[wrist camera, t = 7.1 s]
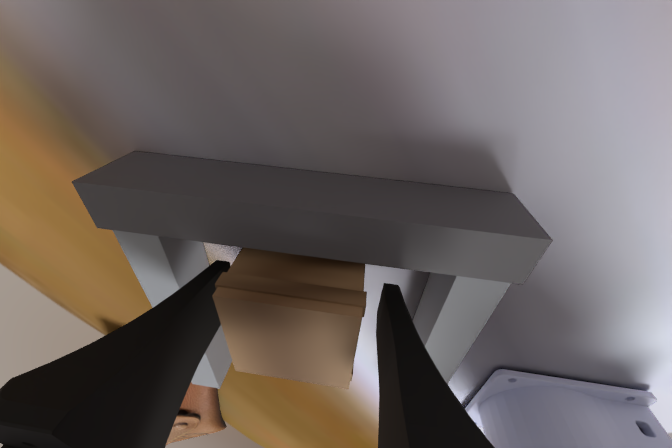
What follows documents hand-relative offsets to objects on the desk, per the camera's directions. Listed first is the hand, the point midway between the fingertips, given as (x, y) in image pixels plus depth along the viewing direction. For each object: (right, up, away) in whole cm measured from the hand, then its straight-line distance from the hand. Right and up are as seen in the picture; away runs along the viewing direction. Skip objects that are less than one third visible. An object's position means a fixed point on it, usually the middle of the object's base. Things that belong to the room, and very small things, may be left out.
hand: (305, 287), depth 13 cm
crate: (0, +1, +2) cm, 2 cm away
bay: (0, -2, +4) cm, 4 cm away
